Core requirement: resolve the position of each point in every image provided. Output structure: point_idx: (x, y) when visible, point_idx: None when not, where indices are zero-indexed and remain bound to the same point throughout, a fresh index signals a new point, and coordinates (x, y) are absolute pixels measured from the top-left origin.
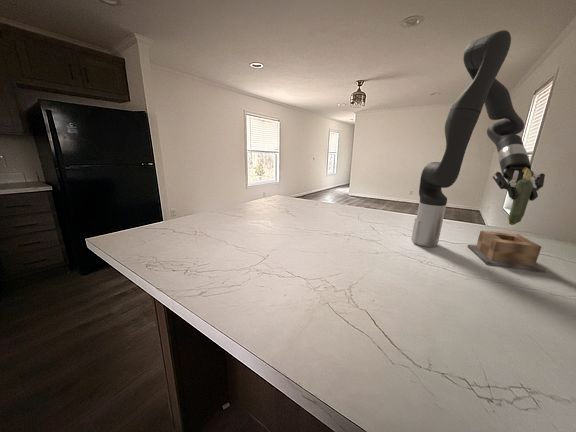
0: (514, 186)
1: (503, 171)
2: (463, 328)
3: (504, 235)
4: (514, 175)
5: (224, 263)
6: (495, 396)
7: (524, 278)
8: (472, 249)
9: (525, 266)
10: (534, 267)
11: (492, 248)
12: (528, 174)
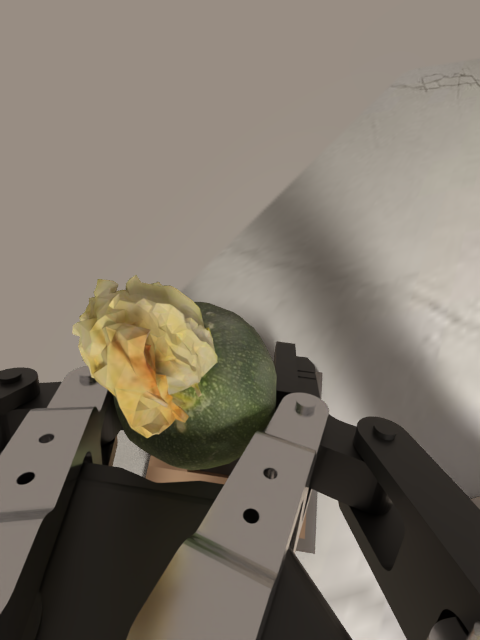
0: (289, 392)
1: None
2: (462, 142)
3: (222, 477)
4: (266, 528)
5: None
6: (456, 78)
7: (262, 310)
8: (316, 495)
9: None
10: None
11: None
12: (168, 294)
